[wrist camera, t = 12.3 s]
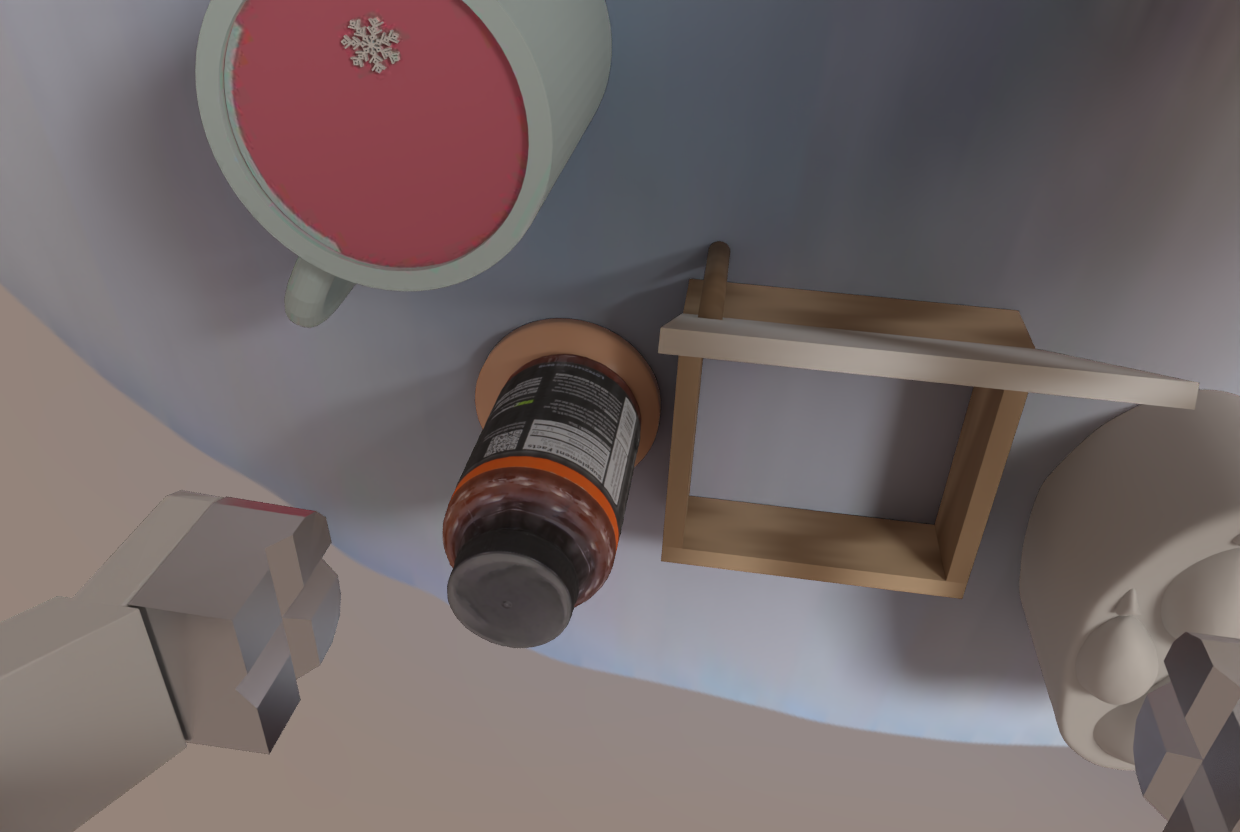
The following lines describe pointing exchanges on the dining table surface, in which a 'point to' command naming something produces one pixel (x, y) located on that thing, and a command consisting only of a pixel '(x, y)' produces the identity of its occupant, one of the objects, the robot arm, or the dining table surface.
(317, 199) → the mug
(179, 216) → the dining table surface
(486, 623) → the supplement bottle
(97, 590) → the robot arm
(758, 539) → the cold frame
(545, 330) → the saucer
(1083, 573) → the lumpy-topped squat cylinder
